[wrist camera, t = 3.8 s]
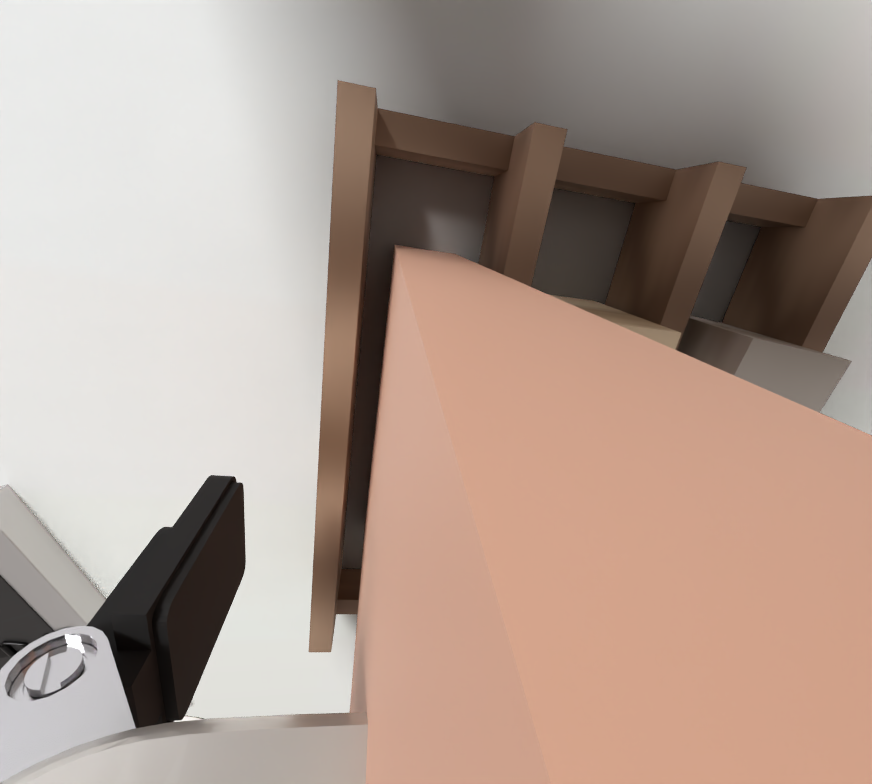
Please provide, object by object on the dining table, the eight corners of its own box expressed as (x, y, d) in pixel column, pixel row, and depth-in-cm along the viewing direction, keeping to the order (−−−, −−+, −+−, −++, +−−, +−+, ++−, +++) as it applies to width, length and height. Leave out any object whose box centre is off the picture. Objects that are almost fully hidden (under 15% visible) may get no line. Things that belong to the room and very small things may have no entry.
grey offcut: (644, 304, 18) (753, 338, 13) (718, 322, 19) (851, 361, 14) (557, 515, 23) (611, 609, 17) (620, 523, 23) (691, 615, 18)
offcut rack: (350, 117, 14) (337, 80, 11) (791, 205, 17) (901, 200, 14) (322, 581, 22) (308, 652, 19) (626, 589, 25) (667, 651, 22)
